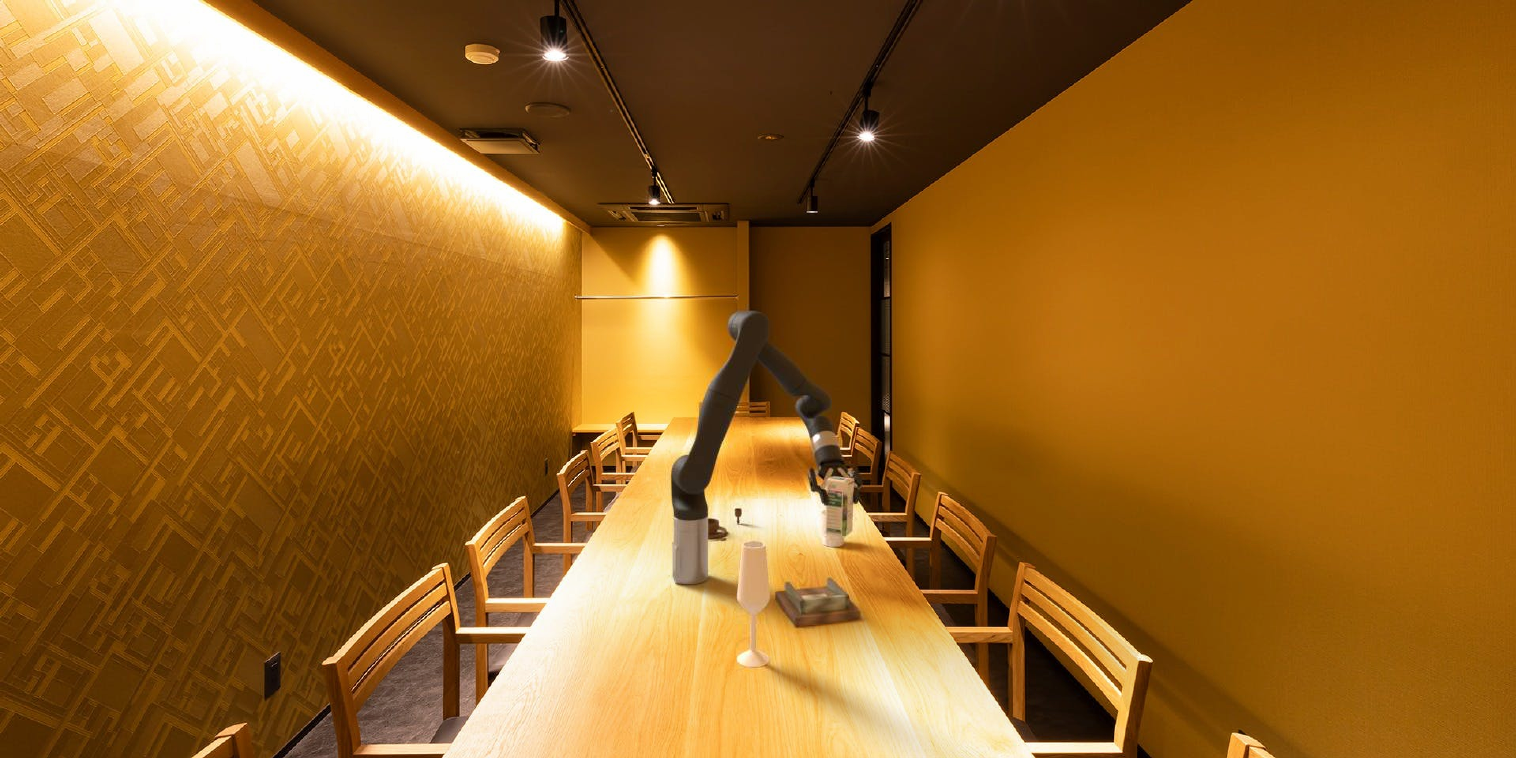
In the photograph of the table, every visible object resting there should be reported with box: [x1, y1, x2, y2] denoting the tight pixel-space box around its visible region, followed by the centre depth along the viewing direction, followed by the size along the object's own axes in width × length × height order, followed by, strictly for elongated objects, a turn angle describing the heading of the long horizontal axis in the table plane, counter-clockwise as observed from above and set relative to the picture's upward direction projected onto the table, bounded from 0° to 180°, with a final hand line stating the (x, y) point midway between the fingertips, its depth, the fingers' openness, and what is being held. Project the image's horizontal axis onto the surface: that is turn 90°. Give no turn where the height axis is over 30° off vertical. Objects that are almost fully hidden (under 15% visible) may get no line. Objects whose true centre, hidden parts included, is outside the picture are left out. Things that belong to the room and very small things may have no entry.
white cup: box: [820, 509, 845, 548], centre depth 212 cm, size 8×8×10 cm
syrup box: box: [825, 476, 854, 538], centre depth 177 cm, size 6×6×14 cm
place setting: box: [708, 507, 742, 542], centre depth 223 cm, size 18×20×6 cm
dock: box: [774, 577, 862, 628], centre depth 163 cm, size 16×16×5 cm
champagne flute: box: [736, 540, 771, 668], centre depth 137 cm, size 7×7×24 cm
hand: (841, 503), depth 176 cm, fingers closed on syrup box, 8 cm apart
